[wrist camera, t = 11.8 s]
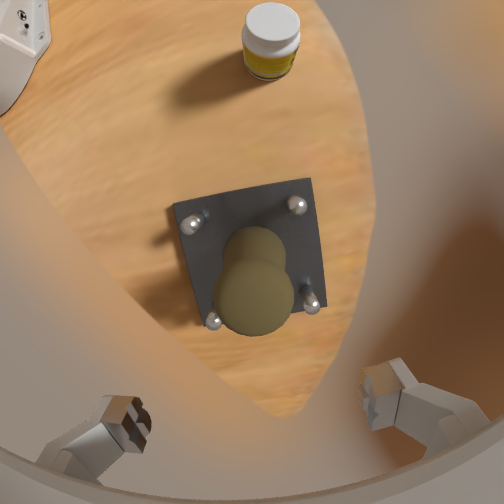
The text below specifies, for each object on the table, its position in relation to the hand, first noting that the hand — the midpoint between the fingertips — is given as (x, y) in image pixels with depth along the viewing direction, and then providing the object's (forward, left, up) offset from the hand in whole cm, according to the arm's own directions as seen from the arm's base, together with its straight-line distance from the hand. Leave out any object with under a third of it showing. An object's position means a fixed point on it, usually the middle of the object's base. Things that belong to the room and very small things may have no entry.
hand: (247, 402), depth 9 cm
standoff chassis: (0, 0, -20) cm, 20 cm away
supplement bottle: (-19, +5, -20) cm, 28 cm away
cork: (0, 0, -19) cm, 19 cm away
